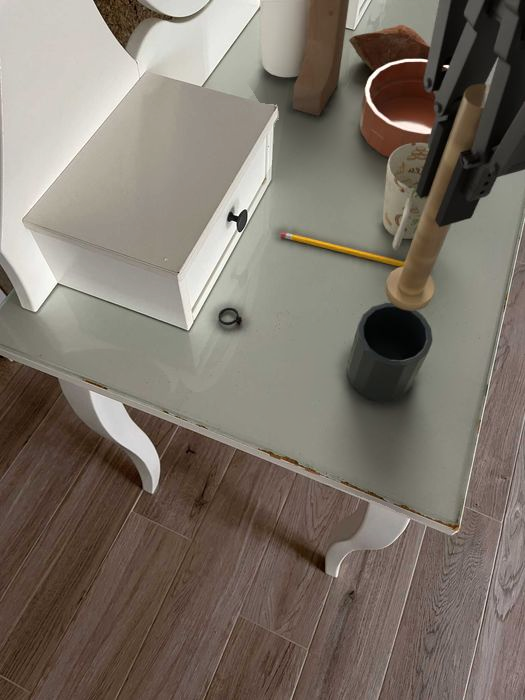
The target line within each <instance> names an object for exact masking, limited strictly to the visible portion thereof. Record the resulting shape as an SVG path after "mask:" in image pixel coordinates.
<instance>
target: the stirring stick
mask: <svg viewBox="0 0 525 700" xmlns="http://www.w3.org/2000/svg"><path fill="white" fill-rule="evenodd" d="M490 85H491V84H486V83H485V84H474V85H471V86H469V87H468V88H467V89H466V90H465V92H464V95H463V98H462V101H461V104H460V106H459V109H458V112H457V115H456V118H455V121H454V124H453V126H452V129H451V132H450V135H449V138H448V141H447V144H446V146H445V149H444V152H443V155H442V158H441V161H440V164H439V166H438V169H437V172H436V175H435V178H434V181H433V184H432V186H431V189H430V192H429V195H428V198H427V201H426V204H425V207H424V209H423V212H422V215H421V218H420V221H419V224H418V227H417V229H416V232H415V235H414V238H412V241H411V243H410V246H409V249H408V252H407V255H406V258H405V260H404V262H405V264H404V267H397V268H395V269H394V270H393V271H391V272H390V274H389V275H388V277H387V279H386V283H385V286H384V292H385V295H386V297H387V300H389V302H391V303H392V304H393V305H395V306H396V307H398V308H400V309H403V310H408V311H415V310H417V311H420V310H422V309H424V308H426V307H427V306H428V305H429V304H430V303H431V302H432V299H433V297H434V295H435V292H436V285H435V282H434V280H433V278H432V276H431V274H432V271H433V268H434V266H435V264H436V261H437V259H438V256H439V254H440V252H441V249H442V247H443V244H444V242H445V240H446V237H447V235H448V233H449V230H450V228H451V226H452V224H449V225H446V226H442V227H439V226H438V224H437V223H436V221H435V218H436V215H437V213H438V210H439V207H440V205H441V202H442V200H443V197H444V194H445V192H446V189H447V186H448V184H449V181H450V179H451V176H452V173H453V171H454V168H455V165H456V163H457V160H458V158H459V155H460V152H463V151H466V150H470V149H472V146H473V143H474V140H475V136H476V133H477V129H478V126H479V123H480V119H481V116H482V112H483V109H484V106H485V102H486V99H487V95H488V92H489V89H490Z"/></svg>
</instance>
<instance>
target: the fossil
mask: <svg viewBox="0 0 525 700" xmlns="http://www.w3.org/2000/svg"><path fill="white" fill-rule="evenodd" d="M348 41H349V43H350V45H351V46H352V47H353V49H354V51H355V53H356V54H357V56H358V57H359V58H360V59H361V60H362V62H364V63H365V64H366V66H367V67H368V69H369V70H370V71H372V72H373V73H374V72H375V71H376V70H377V69H378V68H380V67H382V66H384V65H386V64H388V63H391V62H395V61H399V60H404V59H425V60H428V56H429V50H430V45H429V44H428V43H427V42H426V41H425V40H424V39H423V38H422V36H421V35H420V34H418V33H417V32H416V31H415V30H414V29H412V28H411V27H408V26H406V25H403V24H399V25H396V26H393V27H388V28H383V29H381V30H377V31H372V32H367V33H361V34H356V35H353V36H352V37H350V38H349V40H348Z"/></svg>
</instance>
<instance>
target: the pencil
mask: <svg viewBox="0 0 525 700" xmlns="http://www.w3.org/2000/svg"><path fill="white" fill-rule="evenodd" d="M280 238H283V239H286V240H291V241H295V242H300V243H303V244H307V245H312V246H315V247H319V248H324V249H327V250H331V251H335V252H339V253H344V254H347V255H350V256H356V257H359V258H363V259H367V260H372V261H376V262H380V263H383V264H388V265H392V266H394V267H395V266H396V267H398V268H400V267H404V264H405V261H403V260H398V259H393V258H391V257H386V256H383V255H378V254H374V253H370V252H365V251H362V250H358V249H354V248H350V247H345V246H341V245H337V244H334V243H330V242H325V241H321V240H317V239H314V238H309V237H304V236H301V235H297V234H293V233H288V232H285V231H281V233H280Z"/></svg>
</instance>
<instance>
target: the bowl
mask: <svg viewBox="0 0 525 700" xmlns="http://www.w3.org/2000/svg"><path fill="white" fill-rule="evenodd" d="M427 61H428V60H425V59H404V60H399V61H395V62H391V63H388V64H386V65H384V66H382V67H380V68H378V69H377V70H376V71H375V72H373V73H371V75H370V76H369V77H368V78H367V81H366V84H365V87H364V90H363V96H362V101H361V106H360V107H361V108H360V113H359V119H358V124H359V130H360V133H361V135H362V136H363V138H364V140H365V141H366V143H367V144H368V145H369V146H371V147H372V148H373V149H374V150H375V151H376V152H377V153H379V154H380V155H382V156H385V157H386V158H388V159H389V158H390V156H391V154H392V153H393V152H394V151H395V150H396V149H397V148H399V147H401V146H403V145H406V144H411V143H426V144H428V140H429V136H430V134H431V130H432V127H433V124H434V120H435V117H436V114H435V112H434V102H435V99H436V97H435V95H434V92H429V93H428V92H427V91H426V90H425V88H424V76H425V71H426V66H427ZM448 67H449V65H445V66H443V69H442V70H445V69H448Z"/></svg>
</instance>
